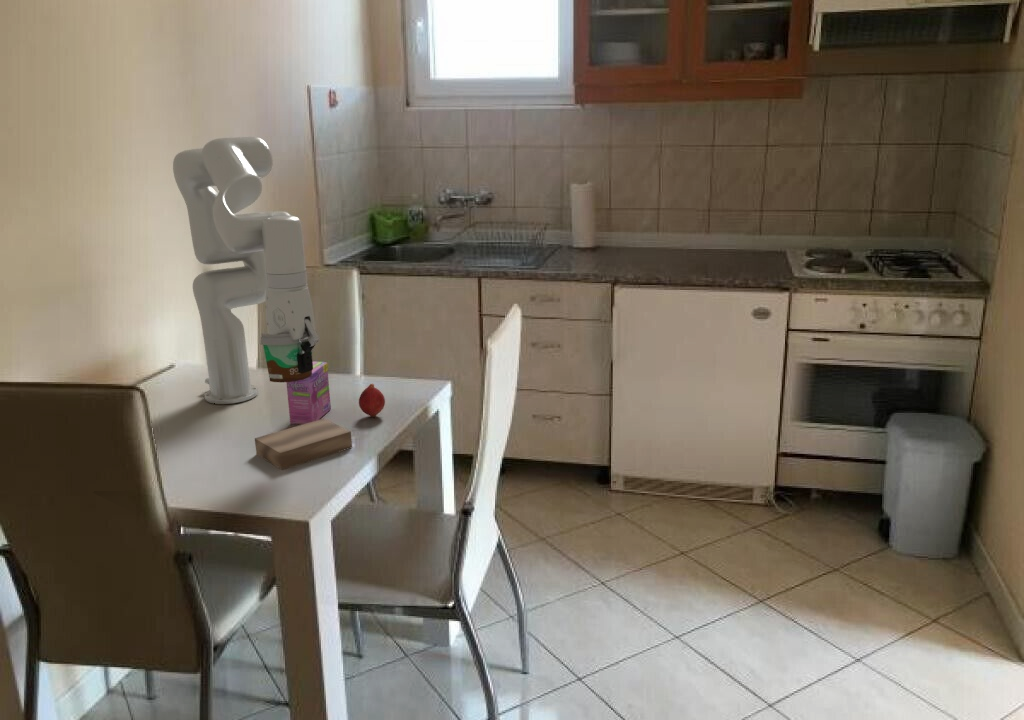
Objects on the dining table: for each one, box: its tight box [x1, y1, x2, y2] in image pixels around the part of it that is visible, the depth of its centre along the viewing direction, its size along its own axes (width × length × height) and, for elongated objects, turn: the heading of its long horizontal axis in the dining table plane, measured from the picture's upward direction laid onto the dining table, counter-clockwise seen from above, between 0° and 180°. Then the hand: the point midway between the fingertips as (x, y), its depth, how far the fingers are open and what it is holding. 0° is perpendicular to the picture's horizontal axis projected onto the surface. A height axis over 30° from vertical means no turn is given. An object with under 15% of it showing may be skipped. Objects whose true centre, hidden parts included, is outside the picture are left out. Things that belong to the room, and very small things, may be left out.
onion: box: [358, 383, 386, 418], centre depth 193 cm, size 6×6×8 cm
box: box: [285, 360, 332, 425], centre depth 193 cm, size 10×6×12 cm, turn 168°
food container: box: [260, 333, 312, 383], centre depth 169 cm, size 12×6×10 cm, turn 148°
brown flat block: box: [254, 418, 353, 471], centre depth 175 cm, size 11×16×4 cm
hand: (296, 368), depth 170 cm, fingers closed on food container, 5 cm apart
